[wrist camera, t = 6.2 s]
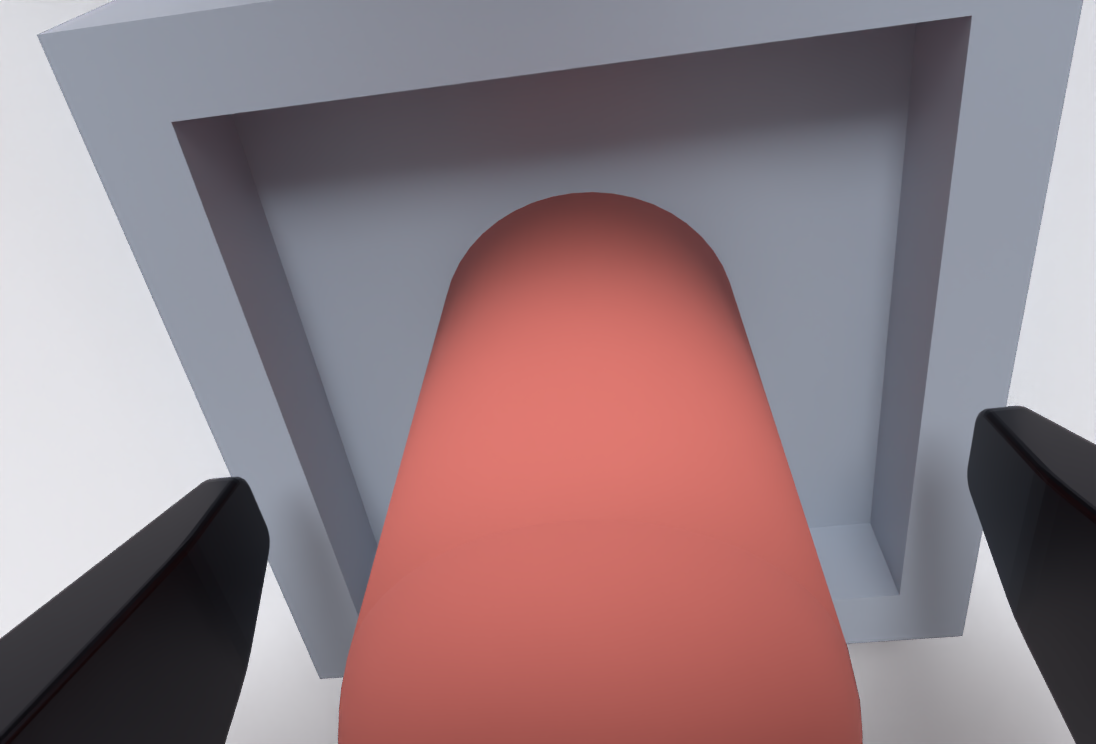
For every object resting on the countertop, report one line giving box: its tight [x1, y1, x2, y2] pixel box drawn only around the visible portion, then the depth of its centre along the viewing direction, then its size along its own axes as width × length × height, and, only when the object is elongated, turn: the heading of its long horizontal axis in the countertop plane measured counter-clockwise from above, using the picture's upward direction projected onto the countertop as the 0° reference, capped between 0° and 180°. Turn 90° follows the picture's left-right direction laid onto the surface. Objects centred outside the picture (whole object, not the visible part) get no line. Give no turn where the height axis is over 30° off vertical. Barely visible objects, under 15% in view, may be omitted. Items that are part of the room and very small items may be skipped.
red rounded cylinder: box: [338, 192, 862, 744], centre depth 8 cm, size 4×4×9 cm
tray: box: [37, 0, 1083, 679], centre depth 12 cm, size 10×10×2 cm
